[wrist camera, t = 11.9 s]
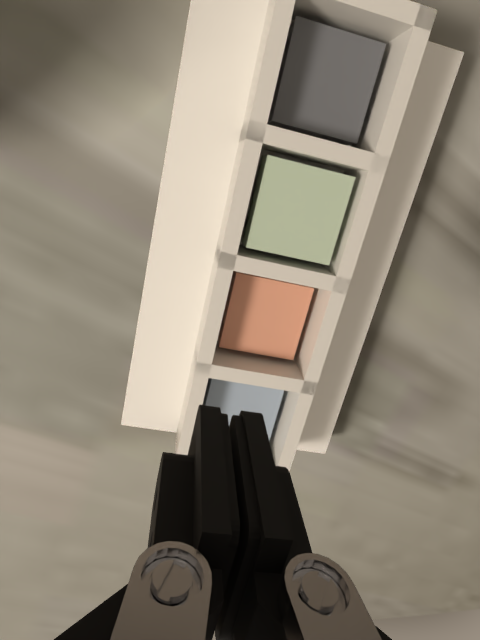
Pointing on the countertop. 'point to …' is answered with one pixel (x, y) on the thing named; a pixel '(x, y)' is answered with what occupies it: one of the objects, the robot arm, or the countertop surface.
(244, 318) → the key
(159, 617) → the robot arm
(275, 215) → the key
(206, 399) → the key
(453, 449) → the countertop surface
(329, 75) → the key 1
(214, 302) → the white compartment tray
